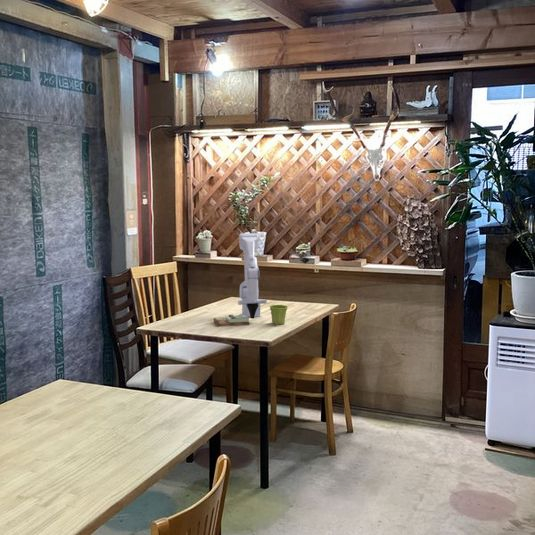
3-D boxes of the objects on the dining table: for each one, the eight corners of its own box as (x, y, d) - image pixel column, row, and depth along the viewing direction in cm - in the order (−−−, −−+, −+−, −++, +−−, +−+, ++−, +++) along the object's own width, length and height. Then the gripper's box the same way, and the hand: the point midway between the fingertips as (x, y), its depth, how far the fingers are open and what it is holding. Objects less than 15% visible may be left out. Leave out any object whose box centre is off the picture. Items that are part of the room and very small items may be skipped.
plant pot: (290, 322, 311) (290, 305, 310) (283, 325, 303) (283, 308, 302) (273, 320, 315) (274, 304, 314) (266, 324, 307) (266, 307, 306)
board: (244, 320, 314) (244, 313, 314) (249, 324, 306) (249, 316, 305) (213, 322, 310) (213, 315, 309) (217, 326, 301) (217, 318, 301)
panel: (244, 318, 314) (244, 315, 314) (248, 321, 306) (248, 318, 306) (225, 319, 311) (225, 316, 311) (229, 322, 303) (229, 319, 303)
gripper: (240, 293, 303) (240, 320, 305) (268, 292, 308) (268, 318, 309) (236, 291, 310) (236, 317, 311) (264, 290, 314) (264, 316, 316)
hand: (252, 318), depth 311 cm, fingers closed
